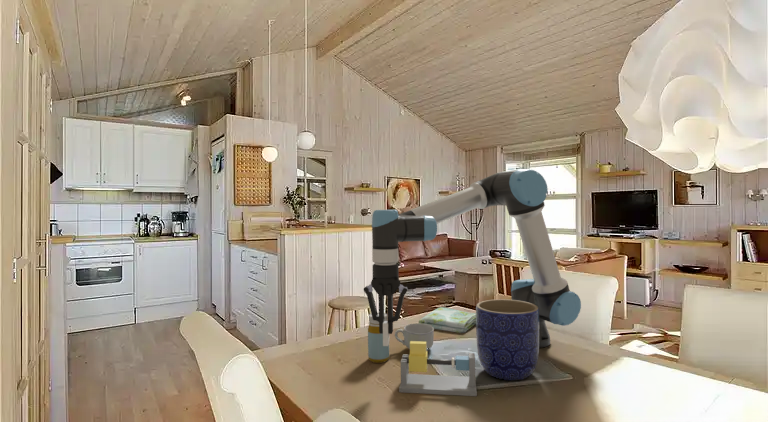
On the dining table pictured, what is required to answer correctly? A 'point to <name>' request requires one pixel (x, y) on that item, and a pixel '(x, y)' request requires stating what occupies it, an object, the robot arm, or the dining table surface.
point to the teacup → (416, 334)
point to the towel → (449, 320)
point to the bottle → (376, 342)
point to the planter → (507, 338)
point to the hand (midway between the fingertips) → (386, 344)
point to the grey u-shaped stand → (440, 378)
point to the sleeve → (418, 356)
